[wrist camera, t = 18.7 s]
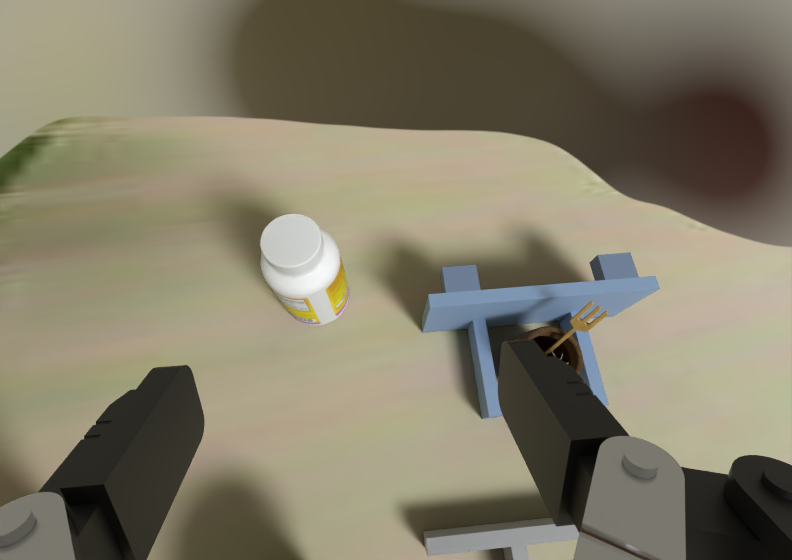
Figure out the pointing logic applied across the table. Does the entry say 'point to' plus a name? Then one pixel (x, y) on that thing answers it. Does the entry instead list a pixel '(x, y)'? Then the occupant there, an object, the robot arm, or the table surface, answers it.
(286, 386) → the table surface
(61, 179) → the table surface
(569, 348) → the utensil holder
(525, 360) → the robot arm
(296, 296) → the supplement bottle
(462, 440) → the table surface
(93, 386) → the table surface
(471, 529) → the grey rail with prongs
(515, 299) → the blue rail with prongs
